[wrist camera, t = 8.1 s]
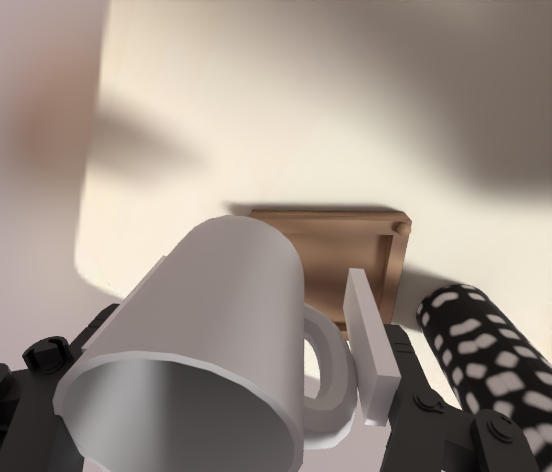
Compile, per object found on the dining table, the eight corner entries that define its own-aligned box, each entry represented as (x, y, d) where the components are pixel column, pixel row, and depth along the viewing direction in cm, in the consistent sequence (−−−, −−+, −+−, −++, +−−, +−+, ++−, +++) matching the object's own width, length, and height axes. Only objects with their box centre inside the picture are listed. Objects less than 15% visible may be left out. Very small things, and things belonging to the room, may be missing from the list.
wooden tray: (252, 210, 31) (247, 221, 28) (403, 212, 29) (414, 223, 27) (258, 322, 38) (255, 339, 35) (381, 328, 36) (387, 346, 34)
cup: (196, 189, 14) (57, 308, 6) (374, 262, 15) (452, 449, 7) (166, 294, 17) (49, 461, 9) (314, 349, 18) (323, 545, 10)
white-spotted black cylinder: (406, 332, 36) (508, 558, 19) (431, 279, 33) (587, 499, 15) (471, 342, 36) (635, 580, 18) (502, 290, 33) (748, 526, 15)
